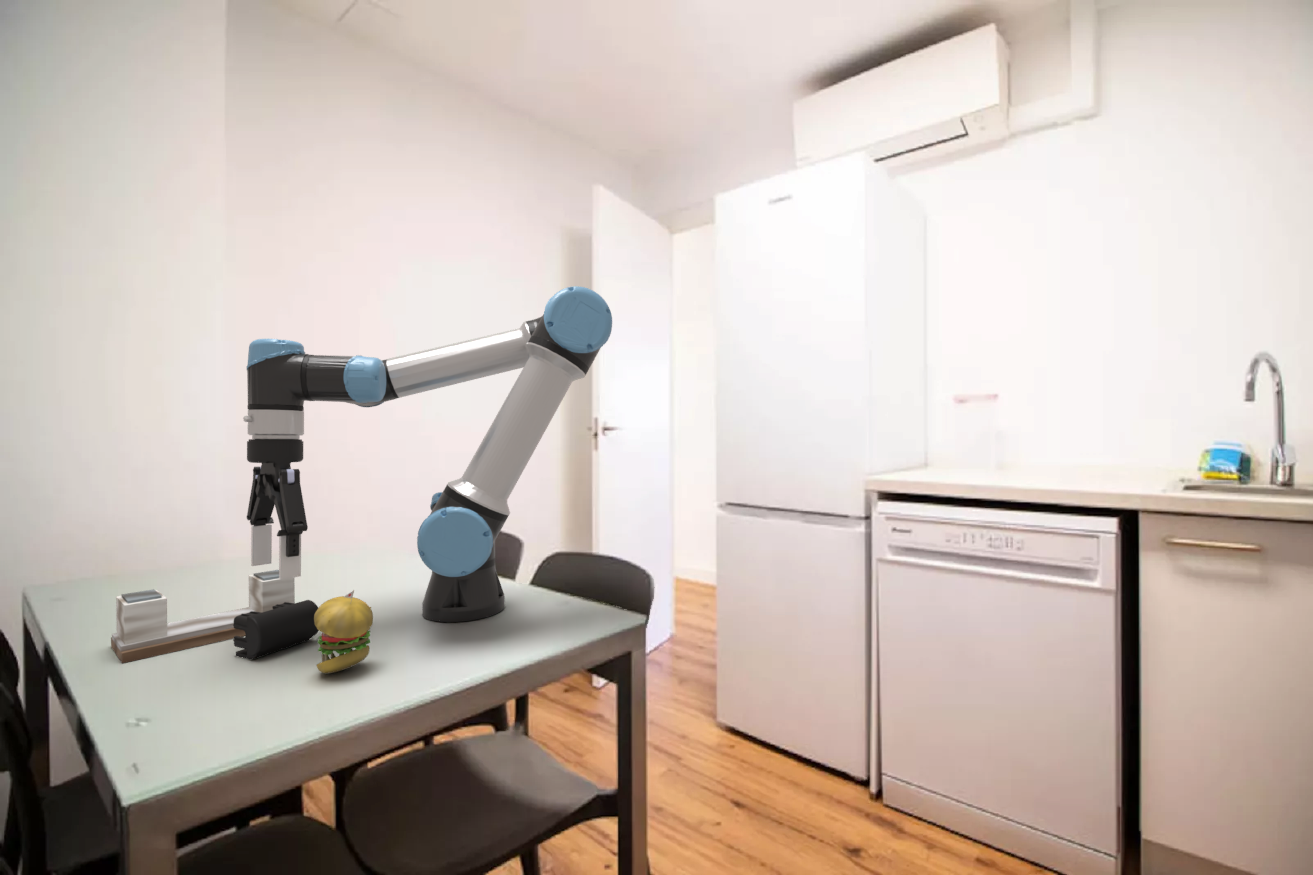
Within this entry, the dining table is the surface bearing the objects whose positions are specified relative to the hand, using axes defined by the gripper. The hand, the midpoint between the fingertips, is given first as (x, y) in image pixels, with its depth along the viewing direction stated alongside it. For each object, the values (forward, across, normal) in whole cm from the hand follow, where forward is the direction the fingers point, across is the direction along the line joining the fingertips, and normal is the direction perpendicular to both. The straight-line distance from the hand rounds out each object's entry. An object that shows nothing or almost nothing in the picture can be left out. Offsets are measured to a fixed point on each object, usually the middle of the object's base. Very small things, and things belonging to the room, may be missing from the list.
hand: (275, 571), depth 92 cm
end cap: (+13, 0, 0) cm, 13 cm away
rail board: (+13, -17, -5) cm, 21 cm away
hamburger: (+12, +18, +3) cm, 22 cm away
